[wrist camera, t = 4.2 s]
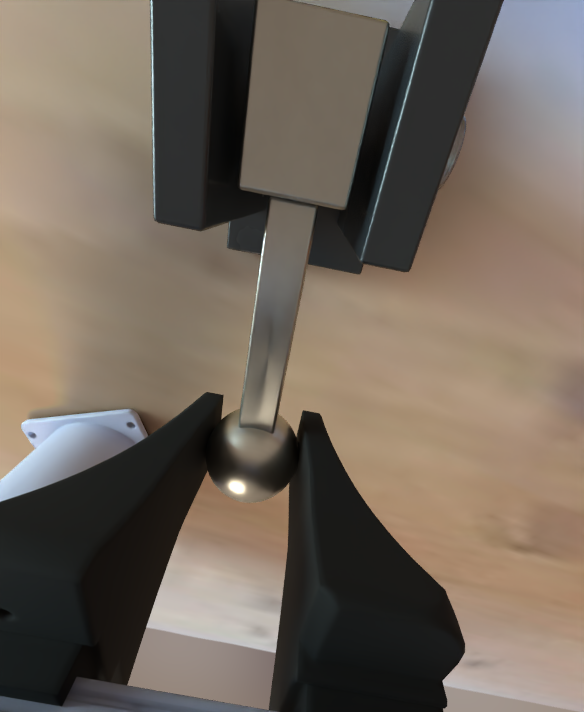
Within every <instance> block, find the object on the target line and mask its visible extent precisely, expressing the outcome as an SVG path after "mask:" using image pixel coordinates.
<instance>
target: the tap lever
mask: <svg viewBox="0 0 584 712" xmlns="http://www.w3.org/2000/svg"><path fill="white" fill-rule="evenodd" d="M389 30H390V29H389V22H387V21H386V20H381V19H377V18H372V17H367V16H363V15H358V14H353V13H348V12H344V11H339V10H334V9H330V8H325V7H320V6H316V5H311V4H306V3H301V2H297V1H292V0H255V3H254V14H253V24H252V35H251V46H250V56H249V67H248V77H247V88H246V98H245V109H244V119H243V130H242V140H241V151H240V161H239V172H238V183H237V184H238V188H240V189H241V190H245V191H250V192H255V193H260V194H265V195H270V196H271V197H270V198H269V200H268V208H267V215H266V223H265V230H264V237H263V245H262V252H261V260H260V267H259V274H258V282H257V289H256V297H255V304H254V312H253V319H252V326H251V334H250V341H249V349H248V356H247V363H246V371H245V378H244V386H243V393H242V400H241V408H240V409H238V410H235V411H233V412H231V413H230V414H228V415H227V416H225V417H224V418H223V419H222V420H221V421H220V422H219V423H218V424H217V425H216V427H215V428H214V430H213V432H212V433H211V435H210V438H209V441H208V443H207V449H206V464H207V469H208V472H209V475H210V477H211V479H212V481H213V482H214V484H215V485H216V486H217V488H218V489H219V490H220V491H221V492H222V493H224V494H225V495H226V496H228V497H230V498H232V499H234V500H237V501H240V502H246V503H254V502H261V501H265V500H267V499H270V498H272V497H274V496H275V495H277V494H278V493H279V492H281V491H282V490H283V489H284V488H285V487H286V486H287V484H288V483H289V482H290V480H291V479H292V477H293V475H294V473H295V470H296V467H297V462H298V443H297V439H296V436H295V434H294V431H293V430H292V428H291V426H290V425H289V424H288V422H287V421H286V420H285V419H284V418H283V417H282V416H280V415H279V414H278V411H279V406H280V401H281V396H282V390H283V385H284V380H285V375H286V370H287V365H288V360H289V355H290V350H291V345H292V340H293V335H294V330H295V325H296V320H297V315H298V310H299V305H300V300H301V295H302V290H303V285H304V280H305V275H306V270H307V265H308V260H309V254H310V249H311V244H312V239H313V234H314V229H315V224H316V219H317V214H318V206H317V205H319V206H324V207H329V208H334V209H339V210H345V209H346V208H347V207H348V204H349V200H350V196H351V192H352V187H353V183H354V179H355V175H356V170H357V166H358V162H359V158H360V153H361V149H362V145H363V140H364V136H365V132H366V128H367V123H368V119H369V115H370V111H371V106H372V102H373V98H374V94H375V89H376V85H377V81H378V76H379V72H380V68H381V64H382V59H383V55H384V51H385V47H386V42H387V38H388V34H389Z"/></svg>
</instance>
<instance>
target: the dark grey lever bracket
mask: <svg viewBox="0 0 584 712" xmlns="http://www.w3.org/2000/svg"><path fill="white" fill-rule="evenodd" d="M503 1H504V0H414V2H413V4H412V6H411V8H410V10H409V12H408V14H407V16H406V18H405V20H404V22H403V24H402V26H401V28H400V29H396V28H391V27H389V29H390V30H389V34H388V38H387V42H386V47H385V51H384V55H383V59H382V64H381V68H380V72H379V76H378V81H377V85H376V89H375V94H374V98H373V102H372V106H371V111H370V115H369V119H368V123H367V128H366V132H365V136H364V140H363V145H362V149H361V153H360V158H359V162H358V166H357V170H356V175H355V179H354V183H353V187H352V192H351V196H350V200H349V204H348V207H347V208H346V209H345V210H339V209H334V208H329V207H324V206H319V205H317V206H318V214H317V219H316V224H315V229H314V234H313V239H312V244H311V249H310V254H309V260H308V264H309V265H314V266H319V267H324V268H329V269H334V270H339V271H344V272H349V273H354V274H360V273H361V271H362V267H363V264H366V265H371V266H376V267H381V268H386V269H391V270H396V271H401V272H409V270H410V269H411V267H412V264H413V261H414V258H415V255H416V252H417V249H418V246H419V243H420V241H421V238H422V235H423V232H424V229H425V226H426V223H427V220H428V218H429V215H430V212H431V209H432V206H433V203H434V200H435V197H436V194H437V192H438V190H439V189H440V188H441V187H442V186H443V184H444V183H445V182H446V180H447V178H448V177H449V175H450V173H451V171H452V170H453V168H454V165H455V163H456V161H457V158H458V156H459V153H460V150H461V147H462V144H463V140H464V136H465V130H466V118H465V117H464V114H465V111H466V108H467V105H468V102H469V99H470V96H471V93H472V91H473V88H474V85H475V82H476V79H477V76H478V73H479V70H480V67H481V65H482V62H483V59H484V56H485V53H486V50H487V47H488V44H489V41H490V39H491V36H492V33H493V30H494V27H495V24H496V21H497V18H498V15H499V13H500V10H501V7H502V4H503ZM254 3H255V0H150V28H151V96H152V145H153V204H154V220H155V221H157V222H158V223H161V224H166V225H171V226H177V227H182V228H187V229H192V230H197V231H204V230H207V229H210V228H213V227H216V226H219V225H222V224H225V223H228V222H229V229H228V241H227V248H229V249H233V250H239V251H244V252H249V253H254V254H259V255H261V252H262V245H263V237H264V230H265V223H266V215H267V208H268V200H269V198H270V197H271V196H270V195H265V194H260V193H255V192H250V191H245V190H241V189H240V188H238V184H237V183H238V172H239V161H240V151H241V140H242V130H243V119H244V109H245V98H246V88H247V77H248V67H249V56H250V46H251V35H252V24H253V14H254Z"/></svg>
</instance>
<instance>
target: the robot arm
mask: <svg viewBox="0 0 584 712" xmlns="http://www.w3.org/2000/svg"><path fill="white" fill-rule="evenodd" d="M222 405H223V395H220V394H215V393H209V392H206V393H205V394H203V395H202V396H201V397H200V398H198V399H197V400H196V401H195V402H194V403H192V404H191V405H190V406H189V407H188V408H186V409H185V410H184V411H183V412H181V413H180V414H179V415H177V416H176V417H175V418H173V419H172V420H171V421H169V422H168V423H167V424H165V425H164V426H162V427H161V428H159V429H158V430H157V431H155V432H154V433H152V434H151V435H149V436H148V434H147V432H146V430H145V428H144V426H143V424H142V422H141V419H140V417H139V415H138V414H137V412H136V411H134V410H132V409H122V410H112V411H103V412H93V413H84V414H74V415H65V416H55V417H46V418H36V419H28V420H26V421H24V422H23V423H22V424H21V428H22V430H23V432H24V433H25V435H26V436H27V438H28V439H29V440H30V442H31V443H32V445H33V446H34V448H35V450H34V451H32V452H31V453H30V454H29V455H28V456H27V457H26V458H25V459H24V460H23V461H21V462H20V463H19V464H18V465H17V466H16V467H15V468H14V469H13V470H11V471H10V472H9V473H8V474H7V475H6V476H5V477H4V478H3V479H2V480H0V712H443V708H446V707H447V698H446V694H445V690H444V686H443V682H442V680H443V679H444V678H445V677H446V676H447V675H448V674H449V673H450V672H451V671H452V670H453V669H454V668H455V666H456V665H457V664H458V663H459V661H460V660H461V658H462V657H463V655H464V653H465V642H464V639H463V636H462V633H461V630H460V627H459V624H458V621H457V618H456V615H455V613H454V610H453V608H452V605H451V603H450V601H449V599H448V596H447V594H446V591H445V589H444V588H443V587H441V586H440V585H439V584H438V583H437V582H436V581H435V580H434V579H433V578H432V577H431V576H430V575H429V574H428V573H427V572H426V571H425V570H424V569H423V568H422V567H421V566H420V565H419V564H418V563H417V562H416V561H414V559H413V558H412V557H411V556H410V555H409V554H408V553H407V552H406V551H405V550H404V549H403V548H402V547H401V546H400V545H399V543H398V542H397V541H396V540H395V539H394V538H393V537H392V536H391V534H390V533H389V532H388V531H387V530H386V528H385V527H384V526H383V525H382V523H381V522H380V521H379V520H378V518H377V517H376V516H375V515H374V514H373V512H372V511H371V509H370V508H369V507H368V505H367V504H366V503H365V501H364V500H363V498H362V497H361V495H360V494H359V492H358V491H357V489H356V488H355V486H354V484H353V483H352V481H351V479H350V478H349V476H348V474H347V472H346V471H345V469H344V467H343V465H342V463H341V461H340V460H339V457H338V455H337V453H336V451H335V449H334V447H333V445H332V443H331V441H330V438H329V436H328V433H327V431H326V428H325V426H324V423H323V420H322V417H321V415H320V414H319V413H314V412H309V411H303V412H302V416H301V420H300V424H299V429H298V433H297V437H296V439H297V443H298V462H297V467H296V470H295V473H294V475H293V477H292V479H291V480H290V482H289V530H288V552H287V561H286V571H285V580H284V589H283V598H282V606H281V615H280V624H279V632H278V640H277V649H276V658H275V665H274V673H273V681H272V688H271V696H270V704H269V710H264V709H259V708H253V707H248V706H242V705H236V704H230V703H224V702H218V701H213V700H207V699H201V698H196V697H190V696H185V695H179V694H173V693H167V692H162V691H155V690H150V689H144V688H139V687H133V686H127V684H128V681H129V678H130V675H131V672H132V669H133V665H134V662H135V659H136V656H137V653H138V650H139V647H140V644H141V641H142V638H143V634H144V632H145V629H146V626H147V623H148V620H149V617H150V614H151V611H152V608H153V605H154V602H155V599H156V596H157V593H158V590H159V587H160V584H161V582H162V579H163V576H164V573H165V570H166V567H167V564H168V562H169V559H170V556H171V553H172V551H173V548H174V545H175V542H176V540H177V537H178V534H179V531H180V529H181V527H182V524H183V522H184V519H185V517H186V515H187V513H188V511H189V509H190V507H191V504H192V502H193V500H194V498H195V496H196V494H197V492H198V490H199V488H200V485H201V483H202V481H203V479H204V477H205V475H206V473H207V470H208V469H207V464H206V449H207V443H208V441H209V438H210V435H211V433H212V432H213V430H214V428H215V427H216V425H217V424H218V423H219V422H220V421H221V415H222ZM131 422H132V423H134V424H135V425H134V424H132V423H131Z"/></svg>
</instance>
